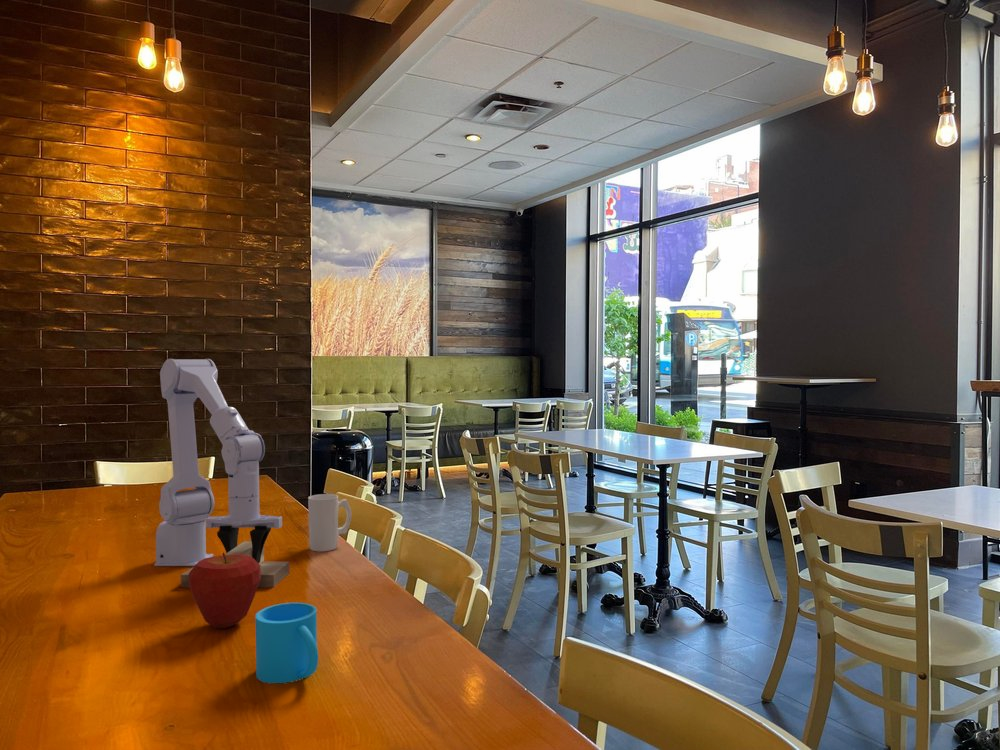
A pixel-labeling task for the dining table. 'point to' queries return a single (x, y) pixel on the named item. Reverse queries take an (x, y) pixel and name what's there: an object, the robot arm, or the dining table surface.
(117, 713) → the dining table surface
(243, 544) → the stepped beige block
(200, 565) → the apple
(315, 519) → the mug
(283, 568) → the plank
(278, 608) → the mug
